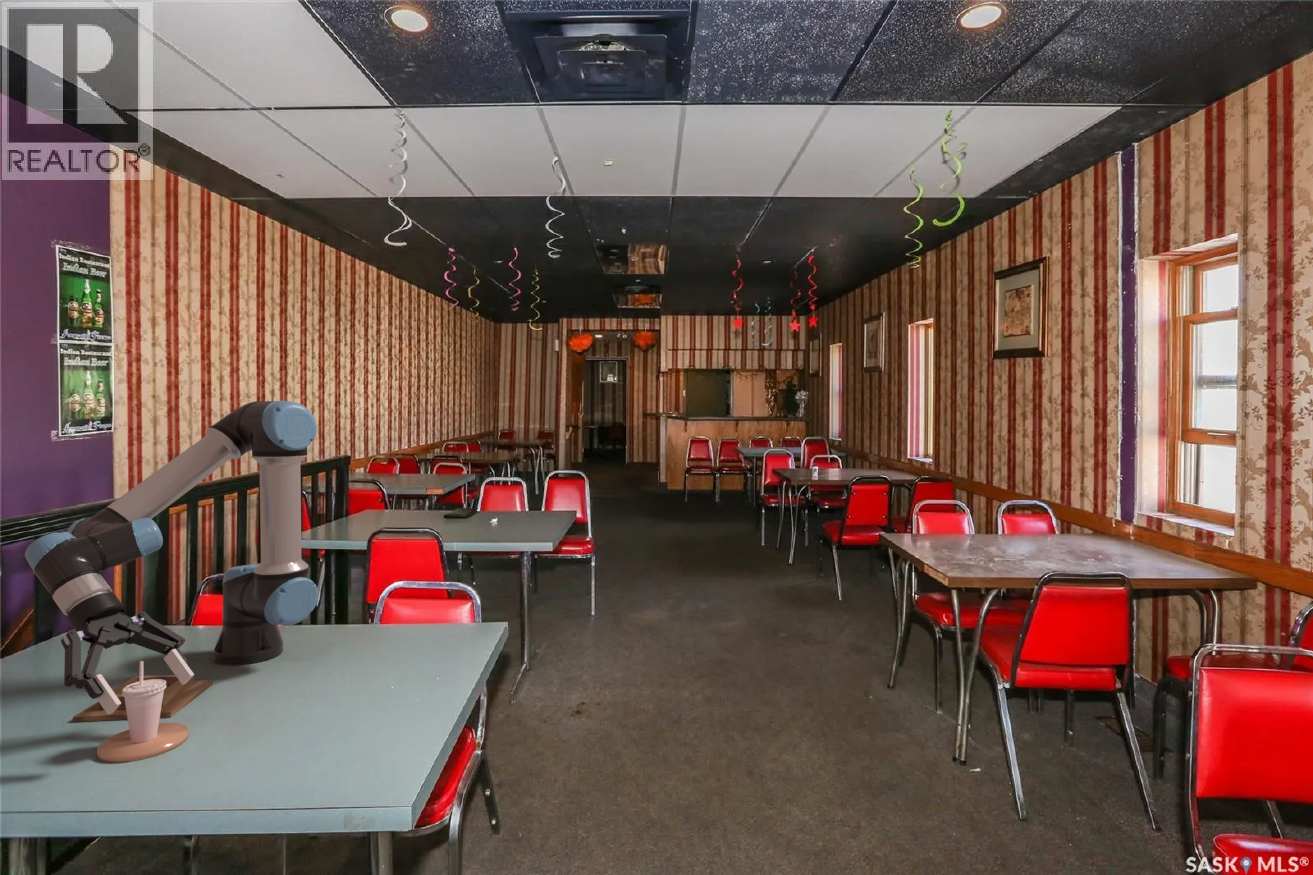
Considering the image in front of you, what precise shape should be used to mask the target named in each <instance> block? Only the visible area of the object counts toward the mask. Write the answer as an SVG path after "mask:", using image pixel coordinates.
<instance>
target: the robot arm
mask: <svg viewBox="0 0 1313 875" xmlns="http://www.w3.org/2000/svg"><path fill="white" fill-rule="evenodd" d="M317 429H318V425H317V422H316V419H315V416H314V415H313V413H312V412H311V411H310V410H309V409H308V408H307V407H305V405H302V404H301V403H298V402H294V401H288V400H271V401H270V400H268V401H265V400H264V401H263V400H261V401H260V400H259V401H258V400H257V401H251V402H248V403H246V404H243V405H241V406H240V407H237V408H235V409H234V410H232V411H231V412H229V413H228V414H227V415H225V416H224V417H223V418H221V419H220V420H218V421H217V422H216V423H214V424H212V425H211V426H209V427H208V428H207V429H206V430H205V436H204V437H202V438H201V439H200V440H198V441H197V442H195V443H193V445H191V446H189V447H188V448H187V449H185V450H184V451H183V452H181V453H180V454H179V455H176V457H174V458H173V459H171V460H170V461H169V462H168V463H166V464H164V465H162V467H160V468H159V469H157V470H156V471H155V472H153V473H151V475H150V476H147V477H146V478H145V479H144V480H142V481H141V482H140V483H138V484H137V485H136V486H134V487H132V488H131V489H130V490H128V491H127V492H125V493H124V494H123V495H121V496H120V497H118V498H117V499H116V500H114V501H113V502H112V503H110V504H108V505H107V506H106V507H104V508H103V509H101V510H100V511H98V512H97V513H96V514H95V515H93V516H89V517H84V518H80V519H78V520H76V521H74V522H73V523H72V524H71V525H70V526H69V527H68V528H67V530H66V531H60V532H51V533H47V534H45V535H43V536H41V537H39V538H37V539H35V540H34V541H32V542H31V543H30V544H29V545H28V546H27V547H26V549H25V553H24V557H25V559H26V561H27V563H28V565H29V566H30V568H31V570H32V573H33V574H34V575H35V576H36V577H37V578H38V580H39V581H40V583H42V585H43V586H44V588H45V589H46V590H47V592H48V593H49V594H50V596H51V598H52V599H53V601H54V603H55V604H56V605H57V606H58V608H59V609H60V611H61V613H62V614H63V615H65V616H66V619H67V621H68V623H69V624H70V625H71V627H72V628H73V629H70V630H68V631H67V633H66V634H65V635H64V636H63V637H62V638H61V639H60V642H61V645H62V647H63V649H64V670H63V671H64V674H63V675H64V677H63V680H64V681H63V682H64V683H63V684H64V686H65V687H68V688H70V687H72V686H73V685H74V686H75V688H77V689H84V690H85V691H86V694H88V696H89V697H90V699H93V700H95V699H96V700H97V702H98V701H99V703H100V704H101V706H102V707H103V709H104V710H105V711H106V713H107V714H108V715H109V714H111V713H113V712H114V711H115V710H116V709H117V708H118V707H119V705H120V704H121V702H120V700H119V699H118V697H117V696H116V695H115V693H114V692H113V688H112V687H111V686H110V685H109V683H108V681H106V678H105V677H104V676H103V675H102V674H101V673H99V674H96V675H95V673H96V670H97V668H98V664H99V661H100V660H101V655H102V653H103V649H105V650H107V649H110V648H112V647H114V646H121V645H123V644H127V645H132V644H133V645H136V646H140V647H142V648H145V649H148V650H151V651H154V652H156V653H159V654H161V655H165V656H164V657H163V660H164V661H165V663H166V664H167V666H168V667H169V669H170V670H171V671H172V673H173V675H176V677H177V678H178V680H179V681H180V682H181V684H182V685H183V684H186V683H187V682H188V681H189V680H190V679H191V678H192V677H193V678H194V676H195V673H194V672H193V670H191V667H190V666H188V663H187V661H188V660H187V658H186V656H185V655H184V654H183V653H182V651H181V650H180V648H181V647H182V645H184V643H185V642H186V638H184V637H183V636H181V635H179V634H178V633H176V632H175V631H174V630H172V629H169V628H168V627H167V626H165V625H163V624H162V623H160V622H158V621H156V620H155V619H153V618H151V616H150V615H149V614H148V613H147V612H146V611H144V610H141V611H140V612H139V613H137V615H134V616H132V617H131V616H128V615H127V613H126V612H125V607H124V604H123V603H122V602H121V600H120V599H119V598H118V596H117V595H116V594H115V593H113V589H112V588H111V586H110V585H109V584H108V583H107V581H106V580H105V578H104V577H103V576H102V574H101V572H105V571H107V570H110V569H113V568H115V567H118V566H121V565H124V564H126V563H129V562H132V561H135V560H137V559H140V558H145V557H146V556H148V555H150V554H153V553H154V552H156V551H159V550H160V549H161V548H162V546H163V542H164V538H163V535H162V532H161V529H160V528H159V526H158V524H157V523H156V521H154V520H153V518H155V517H156V516H157V515H159V514H160V513H162V512H163V511H164V510H165V509H167V508H168V507H169V506H170V505H172V504H173V503H175V502H176V501H177V500H179V499H180V498H181V497H182V496H184V495H185V494H186V493H188V492H190V490H192V489H193V488H195V487H196V486H197V485H198V484H200V483H201V482H202V481H203V480H205V479H206V478H208V477H209V476H210V475H212V474H213V473H214V472H215V471H217V470H219V468H221V467H222V466H223V465H224V464H226V463H227V462H228V461H230V460H239V459H240V458H241V457H243V456H244V455H245V454H247V453H249V452H251V457H252V459H253V460H254V461H255V462H257V463H258V465H259V500H260V501H259V510H260V511H259V512H260V513H259V514H260V516H259V520H260V521H259V522H260V563H253V564H252V563H251V564H245V565H244V564H243V565H237V566H232V567H228V569H226V570H225V571H224V573H223V579H222V625H221V626H222V627H221V631H220V633H219V635H218V639H217V640H216V643H215V646H214V648H213V653H212V655H213V656H212V657H213V658H212V661H213V663H216V664H219V665H224V666H226V665H228V666H235V665H236V666H237V665H249V664H254V663H260V662H264V661H266V660H270V659H273V658H276V657H277V656H280V655H281V654H282V653H283V651H284V640H283V636H282V635H281V632H280V629H279V626H292V625H293V626H294V625H297V624H298V623H301V622H302V621H304V620H305V619H306V618H307V617H308V616H309V615H310V614H311V613H312V612H313V611H314V609H315V608H316V606H317V603H318V600H319V589H318V586H317V585H316V584H315V582H314V581H313V580H311V579H310V577H309V576H310V575H309V574H310V572H309V571H310V570H309V569H310V568H309V564H308V563H307V562H306V561H304V560H303V558H302V494H301V493H302V491H301V490H302V488H301V486H302V485H301V481H302V480H301V463H302V462H303V461H304V460H305V459H306V458H307V457H308V447H309V446H310V445H311V444H312V442H313V441H314V440H315V438H316V437H317V431H318V430H317ZM132 633H133V634H132ZM82 641H83V642H87V643H89V644H90V645H89V647H88V650H87V653H86V654H87V656H86V659H85V662H84V664H83V667H82Z"/></svg>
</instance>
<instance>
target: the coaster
mask: <svg viewBox="0 0 1313 875" xmlns="http://www.w3.org/2000/svg"><path fill="white" fill-rule="evenodd" d="M189 730H190V729H189V727H188V726H187V725H185V724H183V723H177V722H159V725H158V732H157V736H156V738H154V739H152V740H150V741H147V742H142V743H132V742H131V738H130V731H129V729H126V730H124V731H121V732H119V733H116V734H114V735H112V736H110V737H108V738H106V739H105V740H103V741H102V742H101V743H100V744H98V746H97V749H96V757H97V759H98V760H100V761H102V762H106V763H128V762H129V763H130V762H134V761H135V762H136V761H141V760H146V759H149V758H152V757H156V756H159V755H162V754H164V753H167V752H169V751H172V750H174V749H176V748H177V747H180V746H181V745H182V744H183V743H185V742H186V741H187V739H188V738H189V735H190V734H189Z"/></svg>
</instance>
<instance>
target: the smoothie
mask: <svg viewBox="0 0 1313 875" xmlns="http://www.w3.org/2000/svg"><path fill="white" fill-rule="evenodd" d="M138 676H139V682H135V683H132V684H130V685H127V686H126V687H124V688H123V689H122V696H123V697H124V698H125V705H126V711H127V718H128V719H127V724H128V730H129V731H130V738H131V742H132V743H142V742H147V741H150V740H152V739H154V738H156V736H157V732H158V725H159V723H160V719H161V718H160V712H161V706H162V700H163V693H164V689H165V688H166V687H167V686H166V681H165V680H162V679H151V680H144V681H143V676H144V661H143V660H140V661H139V675H138Z"/></svg>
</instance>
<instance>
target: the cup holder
mask: <svg viewBox="0 0 1313 875" xmlns="http://www.w3.org/2000/svg"><path fill="white" fill-rule="evenodd" d="M151 679H162V680H165V681H166V686H167V687H166V688H165V689H164V693H163V700H162V706H161V712H160V719H162V718H172V717H173V716H174V715H175V714H177V713H178V712H179V711H181V710H182V709H183V708H185V707H186V706H187V705H188V704H189V703H191V702H192V701H194V700H195V699H197V698H198V697H199V696H201V695H202V694H203V693H204V692H205V691H207V690H208V689H209V688H210V687H212V686H213V685H214V679H207V680H206V679H204V680H194V676H193V677H192V678H191V679H190V680H189V681H188V682H187V683H186V684H183V685H182V684H181V682H180V681H179V680H178V678H177V677H176V675H175V674H161V675H159V674H157V675H155V674H154V675H143V681H144V680H151ZM135 682H139V675H135V676H133V677H131V678H130V679H128V680H126V681H125V682H123V683H121V684H119V685H118V686H116V687H114V688H112V690H113V692H114V693H115V695H116V696H117V697H118V699H119V700H120V702H121V704H120V705H119V707H118V708H117V709H116V710H115V711H114V712H113V713H111V714H109V715H108V714H107V713H106V711H105V710H104V709H103V707H102V706H101V704H100V703H99V701H98V700H97V701H96V702H95V703H93V704H92V705H90V706H88V707H87V708H86V709H85V708H84V710H82V711H80V712H79V713H77V714H75V715H74V716H72V723H81V722H84V723H85V722H100V721H102V722H103V720H105V721H117V720H118V721H122V720H128V718H127V711H126V705H125V698H124V697H123V696H122V689H123V688H124V687H126V686H127V685H130V684H132V683H135Z"/></svg>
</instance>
